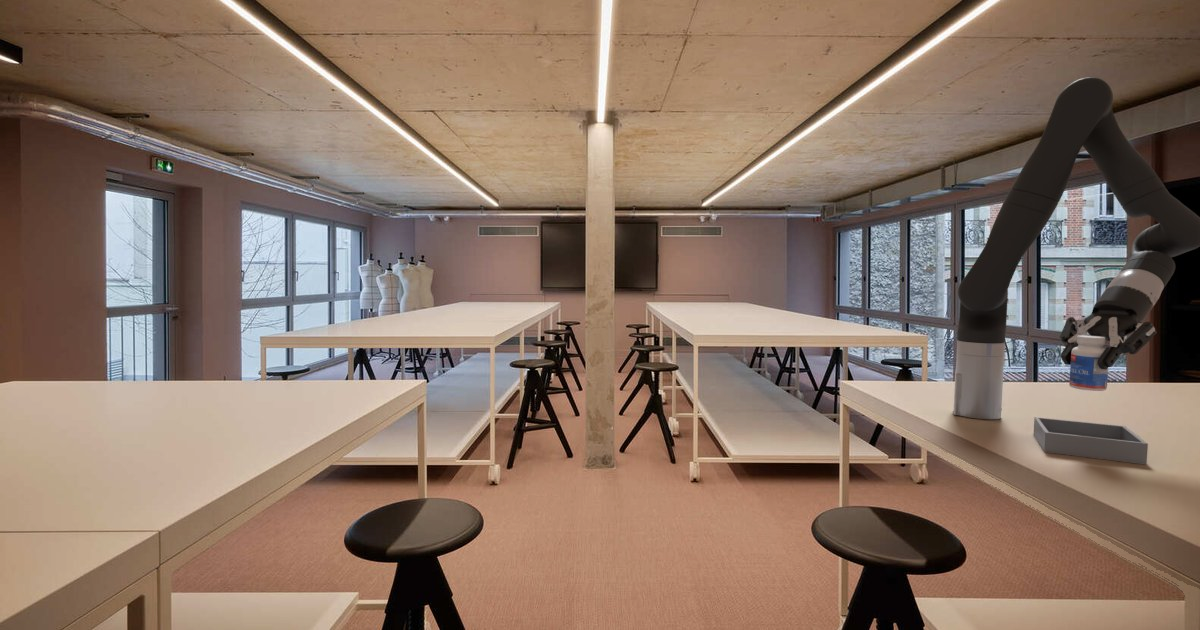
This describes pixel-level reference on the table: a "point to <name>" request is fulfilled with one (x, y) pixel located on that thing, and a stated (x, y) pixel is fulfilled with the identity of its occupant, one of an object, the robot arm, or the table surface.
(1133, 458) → the tray
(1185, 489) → the table surface
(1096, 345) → the pill bottle
